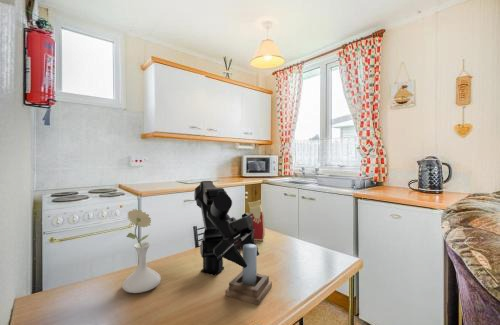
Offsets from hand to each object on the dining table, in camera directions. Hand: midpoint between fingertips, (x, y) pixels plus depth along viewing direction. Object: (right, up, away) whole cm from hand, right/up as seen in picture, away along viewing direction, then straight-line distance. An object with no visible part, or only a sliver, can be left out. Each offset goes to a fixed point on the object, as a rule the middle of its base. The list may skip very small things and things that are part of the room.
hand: (252, 260), depth 74 cm
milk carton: (+2, -9, +50) cm, 51 cm away
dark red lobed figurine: (-6, -9, +35) cm, 37 cm away
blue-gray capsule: (-1, -8, +1) cm, 8 cm away
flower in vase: (-36, -10, +3) cm, 38 cm away
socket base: (-1, -10, +1) cm, 10 cm away
